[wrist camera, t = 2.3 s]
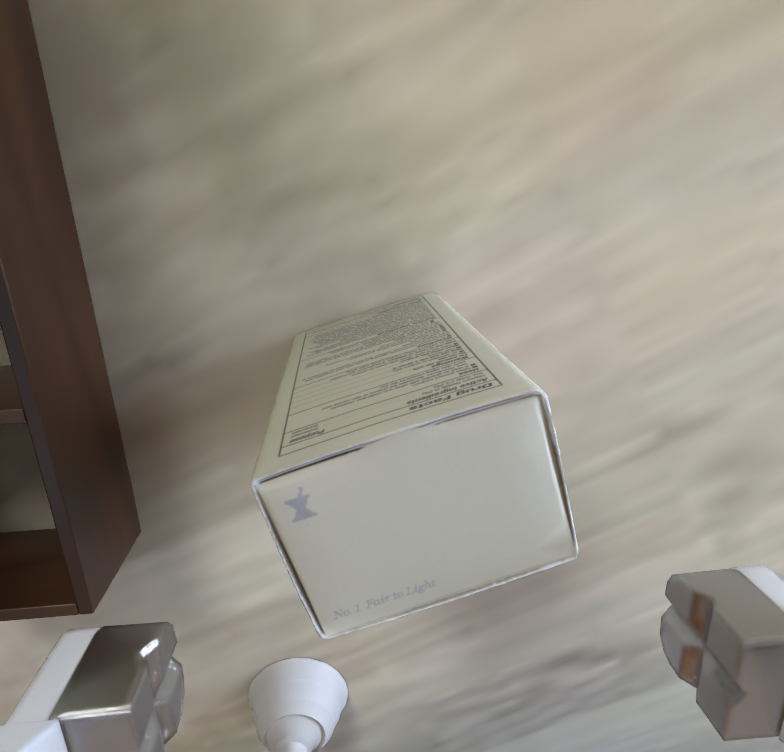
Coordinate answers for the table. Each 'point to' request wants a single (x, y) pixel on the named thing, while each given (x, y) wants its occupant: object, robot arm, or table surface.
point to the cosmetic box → (408, 467)
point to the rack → (53, 360)
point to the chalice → (297, 704)
